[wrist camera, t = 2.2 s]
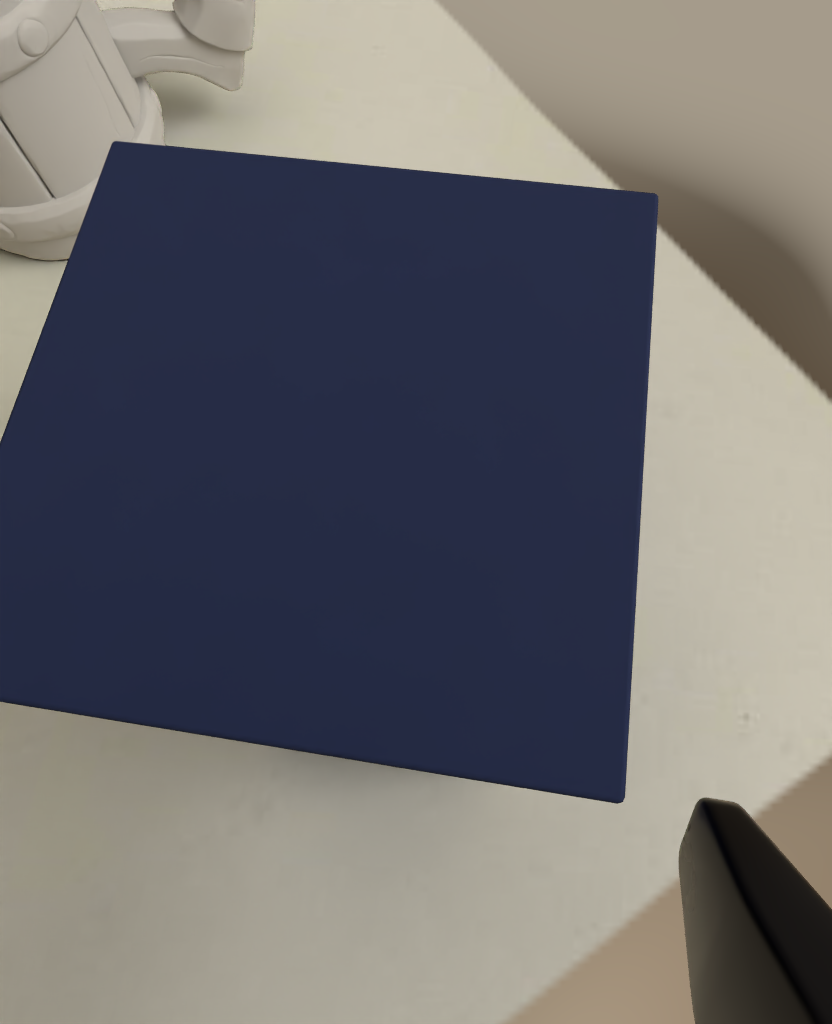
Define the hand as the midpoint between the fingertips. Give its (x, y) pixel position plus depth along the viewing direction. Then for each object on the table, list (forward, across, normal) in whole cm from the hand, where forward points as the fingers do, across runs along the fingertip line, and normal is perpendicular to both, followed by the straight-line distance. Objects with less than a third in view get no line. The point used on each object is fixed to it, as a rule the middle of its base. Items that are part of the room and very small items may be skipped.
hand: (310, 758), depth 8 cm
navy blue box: (+12, 0, +2) cm, 12 cm away
